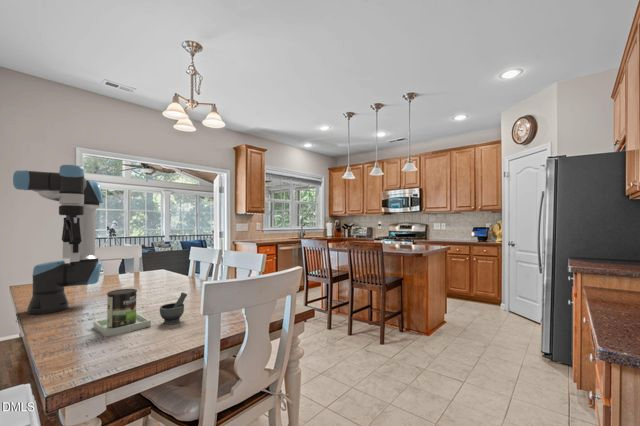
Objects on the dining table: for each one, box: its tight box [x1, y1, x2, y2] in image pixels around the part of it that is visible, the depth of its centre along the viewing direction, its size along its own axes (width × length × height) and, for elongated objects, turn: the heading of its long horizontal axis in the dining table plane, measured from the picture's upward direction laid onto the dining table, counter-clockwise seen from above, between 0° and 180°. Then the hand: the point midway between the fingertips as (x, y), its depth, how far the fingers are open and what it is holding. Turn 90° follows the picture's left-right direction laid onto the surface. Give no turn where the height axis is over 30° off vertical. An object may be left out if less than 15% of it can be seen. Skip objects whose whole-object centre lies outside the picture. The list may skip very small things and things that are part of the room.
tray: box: [93, 312, 152, 338], centre depth 127 cm, size 16×16×2 cm
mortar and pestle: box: [159, 292, 188, 325], centre depth 134 cm, size 11×9×12 cm
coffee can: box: [106, 288, 138, 329], centre depth 127 cm, size 10×10×14 cm
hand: (70, 260), depth 119 cm, fingers open, 13 cm apart
